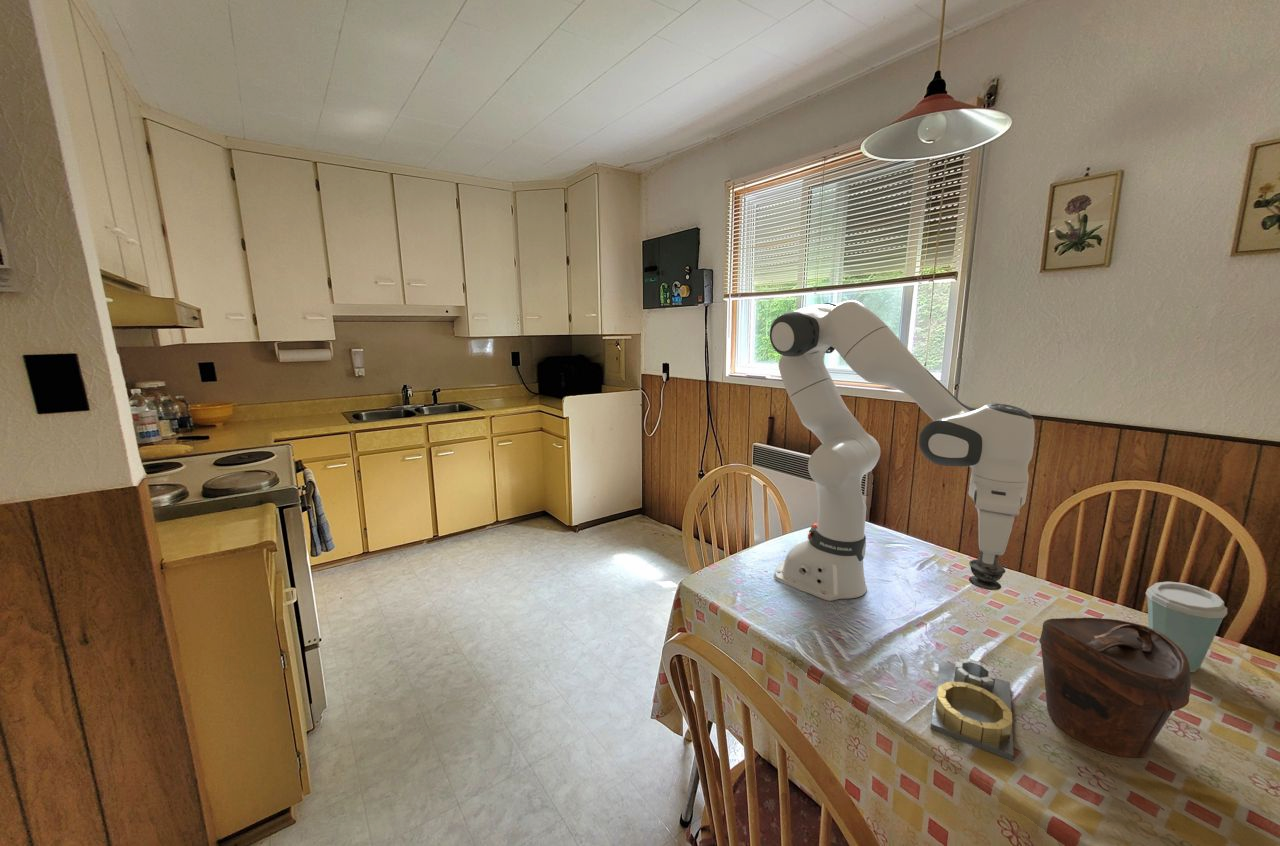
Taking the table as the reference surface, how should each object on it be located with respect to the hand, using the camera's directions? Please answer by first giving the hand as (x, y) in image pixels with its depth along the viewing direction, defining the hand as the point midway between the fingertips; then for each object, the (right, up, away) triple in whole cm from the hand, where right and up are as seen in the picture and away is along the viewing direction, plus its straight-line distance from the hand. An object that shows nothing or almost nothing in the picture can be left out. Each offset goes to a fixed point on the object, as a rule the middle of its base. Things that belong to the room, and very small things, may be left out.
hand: (987, 557), depth 97 cm
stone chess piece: (0, -6, +1) cm, 6 cm away
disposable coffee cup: (+37, -21, +1) cm, 43 cm away
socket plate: (-10, -24, -10) cm, 27 cm away
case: (+8, -24, -14) cm, 29 cm away
